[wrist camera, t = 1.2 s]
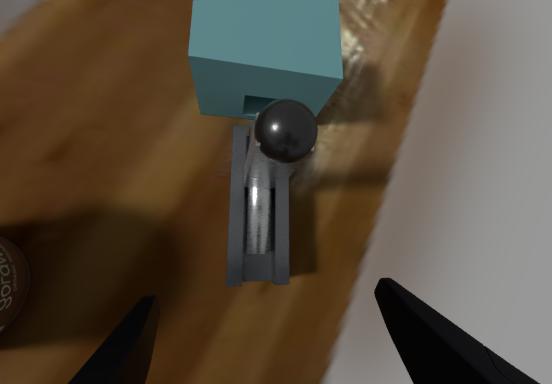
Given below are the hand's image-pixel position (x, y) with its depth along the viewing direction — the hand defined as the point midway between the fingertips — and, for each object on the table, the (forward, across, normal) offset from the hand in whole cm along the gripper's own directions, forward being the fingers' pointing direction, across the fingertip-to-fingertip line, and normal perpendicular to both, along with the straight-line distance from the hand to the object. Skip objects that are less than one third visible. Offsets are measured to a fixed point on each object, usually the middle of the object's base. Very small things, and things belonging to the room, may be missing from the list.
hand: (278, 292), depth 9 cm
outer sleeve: (+14, -1, +4) cm, 15 cm away
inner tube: (+14, -1, +3) cm, 14 cm away
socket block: (+23, -1, -5) cm, 23 cm away
